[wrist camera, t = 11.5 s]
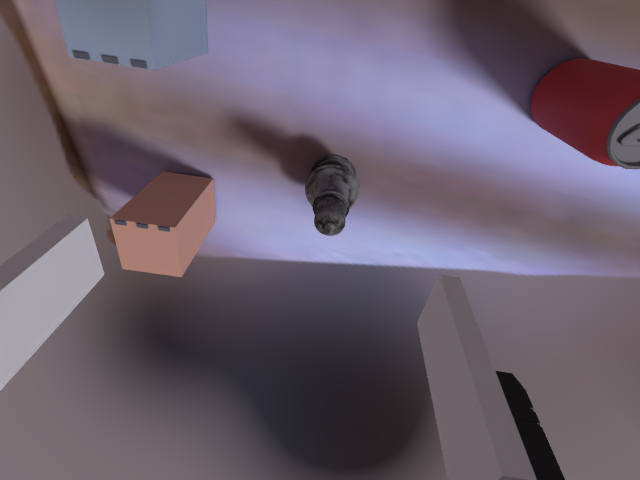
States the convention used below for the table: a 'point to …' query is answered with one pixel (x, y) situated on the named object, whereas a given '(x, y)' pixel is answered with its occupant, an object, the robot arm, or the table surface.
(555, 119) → the beer can
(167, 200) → the stub
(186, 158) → the table surface
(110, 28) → the gray rectangular box
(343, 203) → the dark rounded upright piece
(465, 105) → the table surface
